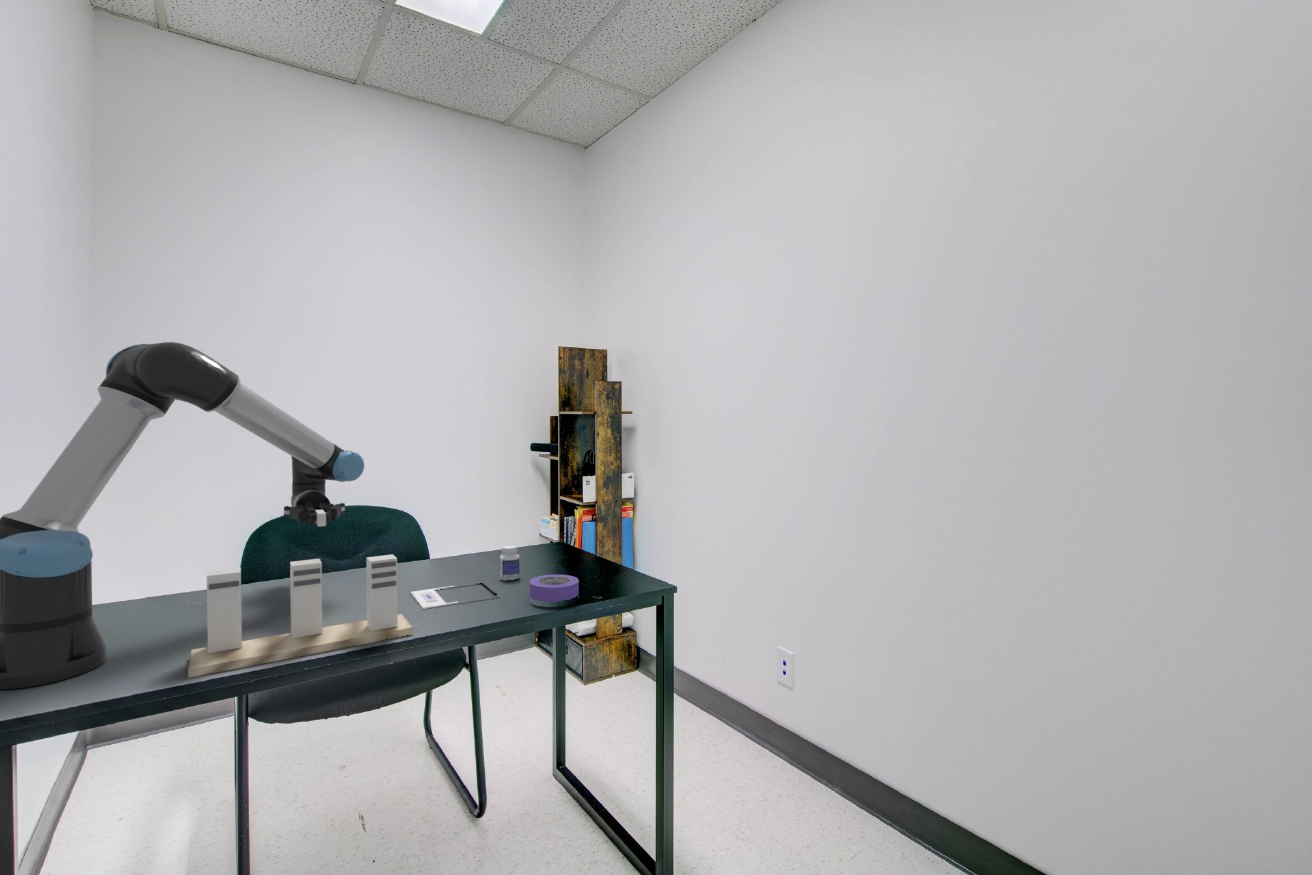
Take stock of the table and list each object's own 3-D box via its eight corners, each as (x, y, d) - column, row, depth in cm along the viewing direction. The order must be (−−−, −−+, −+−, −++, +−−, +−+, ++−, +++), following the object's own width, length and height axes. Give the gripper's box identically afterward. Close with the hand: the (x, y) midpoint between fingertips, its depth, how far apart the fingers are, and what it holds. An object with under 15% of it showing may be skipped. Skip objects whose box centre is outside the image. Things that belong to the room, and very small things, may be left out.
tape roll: (569, 591, 154) (569, 571, 153) (585, 604, 143) (585, 583, 143) (523, 597, 148) (523, 577, 148) (537, 611, 138) (537, 589, 138)
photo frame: (410, 590, 150) (482, 580, 159) (410, 595, 150) (482, 584, 159) (422, 606, 137) (500, 594, 147) (422, 611, 137) (500, 599, 147)
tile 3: (370, 631, 119) (370, 561, 118) (367, 625, 122) (366, 557, 122) (397, 626, 122) (397, 558, 121) (393, 620, 125) (392, 554, 125)
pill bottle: (523, 579, 164) (523, 546, 164) (506, 582, 160) (506, 549, 160) (512, 575, 168) (512, 543, 167) (495, 579, 164) (495, 546, 163)
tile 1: (207, 653, 107) (206, 576, 107) (208, 646, 110) (207, 571, 110) (241, 647, 110) (240, 572, 109) (241, 640, 113) (240, 567, 113)
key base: (188, 677, 101) (188, 669, 101) (191, 657, 109) (191, 649, 109) (412, 634, 122) (412, 627, 122) (401, 620, 130) (401, 613, 130)
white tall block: (292, 638, 114) (291, 566, 114) (291, 632, 118) (290, 561, 117) (322, 633, 117) (321, 562, 117) (319, 627, 121) (319, 558, 120)
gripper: (341, 519, 152) (355, 534, 133) (281, 523, 145) (286, 540, 125) (341, 489, 152) (355, 500, 132) (281, 492, 145) (286, 504, 125)
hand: (322, 519), depth 129 cm, fingers closed
